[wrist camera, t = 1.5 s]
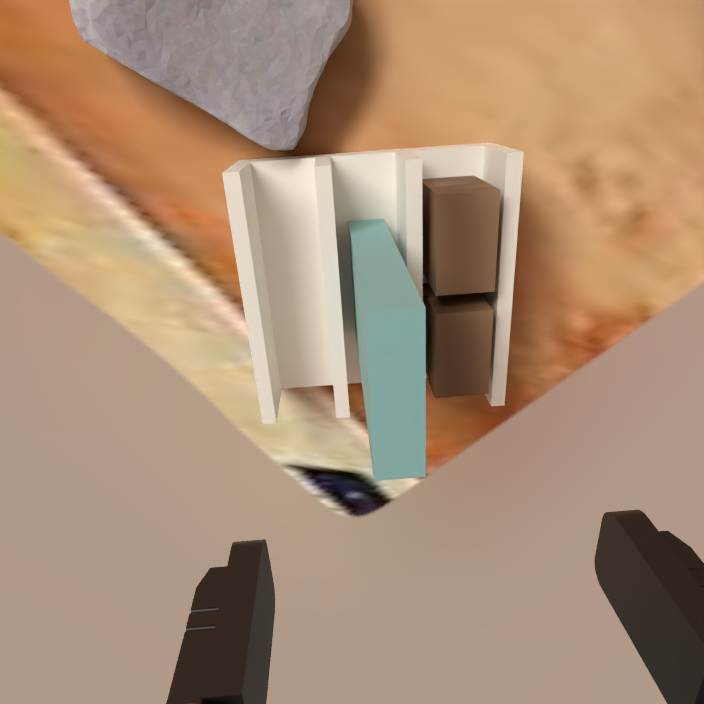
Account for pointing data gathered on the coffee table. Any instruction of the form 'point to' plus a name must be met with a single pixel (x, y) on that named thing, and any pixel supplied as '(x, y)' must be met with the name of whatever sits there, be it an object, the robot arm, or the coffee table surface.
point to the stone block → (225, 54)
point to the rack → (347, 254)
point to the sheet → (389, 351)
